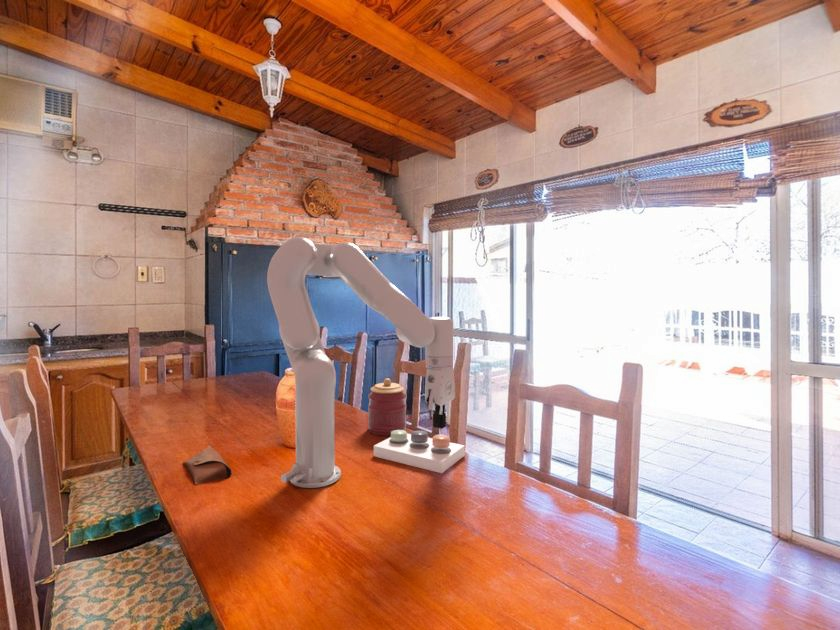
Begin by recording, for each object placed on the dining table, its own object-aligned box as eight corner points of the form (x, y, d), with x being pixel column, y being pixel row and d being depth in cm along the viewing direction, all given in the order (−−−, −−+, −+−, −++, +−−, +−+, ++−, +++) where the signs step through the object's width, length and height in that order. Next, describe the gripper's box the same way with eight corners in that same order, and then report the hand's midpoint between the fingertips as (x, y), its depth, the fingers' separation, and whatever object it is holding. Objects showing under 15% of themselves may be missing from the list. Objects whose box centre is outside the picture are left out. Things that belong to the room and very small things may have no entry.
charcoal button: (422, 444, 120) (422, 437, 120) (407, 441, 123) (407, 434, 123) (430, 439, 125) (430, 432, 124) (416, 436, 127) (416, 429, 127)
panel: (441, 473, 112) (442, 461, 112) (373, 456, 124) (373, 445, 123) (464, 455, 124) (464, 444, 124) (400, 441, 136) (400, 431, 135)
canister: (386, 439, 138) (386, 384, 137) (359, 430, 146) (359, 378, 145) (414, 429, 147) (414, 378, 146) (388, 421, 156) (388, 373, 155)
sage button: (401, 443, 124) (401, 436, 124) (387, 440, 127) (387, 433, 126) (410, 438, 128) (410, 431, 128) (396, 435, 131) (396, 428, 131)
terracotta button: (444, 449, 117) (444, 441, 117) (429, 445, 119) (429, 438, 119) (452, 443, 121) (452, 436, 121) (437, 440, 123) (437, 433, 123)
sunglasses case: (179, 462, 118) (193, 439, 120) (204, 469, 122) (216, 446, 124) (195, 486, 104) (210, 459, 106) (222, 493, 108) (236, 467, 110)
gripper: (439, 367, 111) (439, 437, 112) (463, 358, 124) (462, 421, 125) (413, 364, 115) (414, 432, 116) (439, 356, 128) (439, 418, 129)
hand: (439, 426), depth 121 cm, fingers closed
